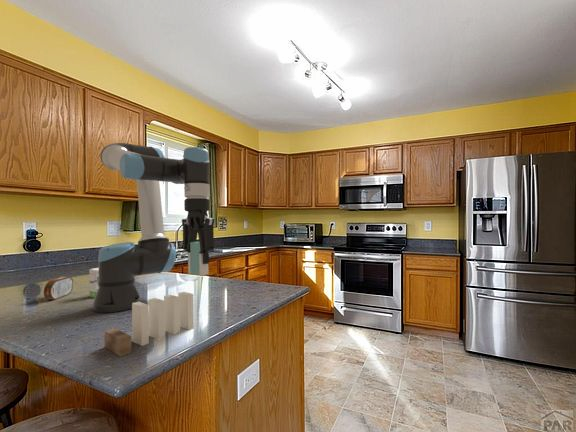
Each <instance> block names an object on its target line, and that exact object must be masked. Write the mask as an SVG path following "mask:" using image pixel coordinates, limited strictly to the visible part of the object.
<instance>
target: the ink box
mask: <svg viewBox="0 0 576 432" xmlns="http://www.w3.org/2000/svg"><path fill="white" fill-rule="evenodd" d="M88 273H89V283H88V284H89V297H90V298H94V299H95V297H96V295H97V292H98V289H99V267H96V268H94V267H93V268H90V269H89V272H88Z"/></svg>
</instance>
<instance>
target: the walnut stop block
mask: <svg viewBox="0 0 576 432" xmlns="http://www.w3.org/2000/svg"><path fill="white" fill-rule="evenodd" d="M104 348H105V349H107V350H108V351H111V352H112V353H114V354H116V355H117V356H119V357H121V358H122V357H123V356H126V355H130V354H132V336H131V335H129V334H127V333H125V332H123V331H121V330H119V329H117V328H110V329H108V330H104Z"/></svg>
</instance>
